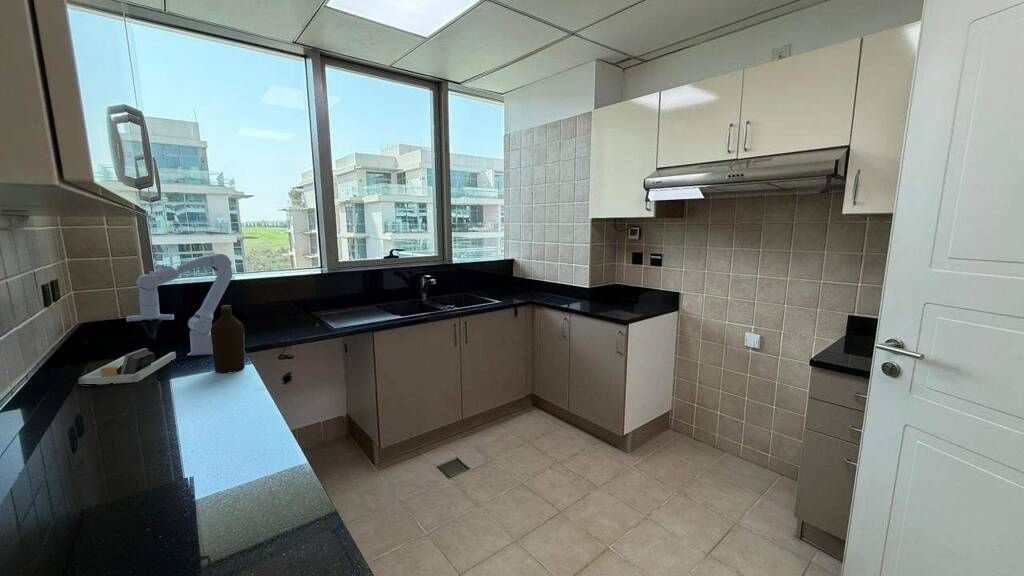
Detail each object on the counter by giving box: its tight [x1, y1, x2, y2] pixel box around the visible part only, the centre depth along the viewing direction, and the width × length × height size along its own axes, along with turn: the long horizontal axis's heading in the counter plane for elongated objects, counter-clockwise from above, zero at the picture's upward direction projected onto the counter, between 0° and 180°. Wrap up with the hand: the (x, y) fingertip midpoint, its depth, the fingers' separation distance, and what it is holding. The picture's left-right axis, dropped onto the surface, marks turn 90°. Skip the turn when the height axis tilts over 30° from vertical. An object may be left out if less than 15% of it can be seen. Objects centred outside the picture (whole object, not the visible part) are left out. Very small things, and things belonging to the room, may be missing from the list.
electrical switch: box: [119, 347, 155, 375], centre depth 151 cm, size 9×5×9 cm, turn 5°
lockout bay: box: [78, 351, 177, 385], centre depth 156 cm, size 16×29×6 cm, turn 18°
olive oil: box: [210, 304, 245, 374], centre depth 158 cm, size 11×11×25 cm
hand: (152, 338), depth 166 cm, fingers closed
